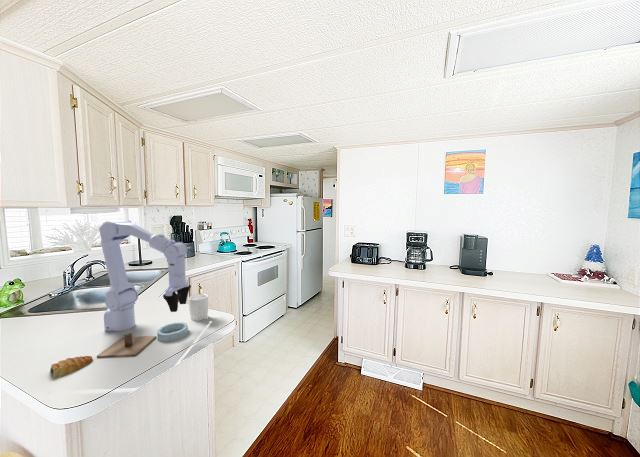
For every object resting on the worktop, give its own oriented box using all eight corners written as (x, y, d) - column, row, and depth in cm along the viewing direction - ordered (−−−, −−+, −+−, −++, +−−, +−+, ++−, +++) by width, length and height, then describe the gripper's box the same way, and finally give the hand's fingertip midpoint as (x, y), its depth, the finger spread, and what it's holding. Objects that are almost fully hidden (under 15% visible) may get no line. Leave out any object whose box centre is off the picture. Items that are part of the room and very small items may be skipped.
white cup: (201, 323, 108) (200, 300, 108) (185, 322, 110) (184, 299, 109) (212, 316, 116) (212, 294, 115) (197, 314, 118) (196, 293, 117)
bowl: (151, 343, 93) (151, 335, 92) (166, 330, 102) (166, 322, 102) (180, 342, 93) (180, 334, 93) (192, 329, 103) (191, 321, 103)
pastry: (89, 358, 84) (88, 347, 83) (96, 366, 80) (95, 354, 80) (48, 374, 76) (47, 362, 76) (53, 383, 72) (52, 370, 72)
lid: (96, 357, 83) (95, 344, 82) (122, 338, 95) (121, 326, 94) (135, 356, 84) (134, 342, 83) (156, 337, 95) (155, 325, 95)
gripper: (179, 278, 93) (180, 314, 94) (195, 269, 107) (196, 300, 108) (158, 279, 92) (160, 315, 93) (177, 269, 107) (179, 300, 108)
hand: (178, 307), depth 101 cm, fingers open, 7 cm apart
